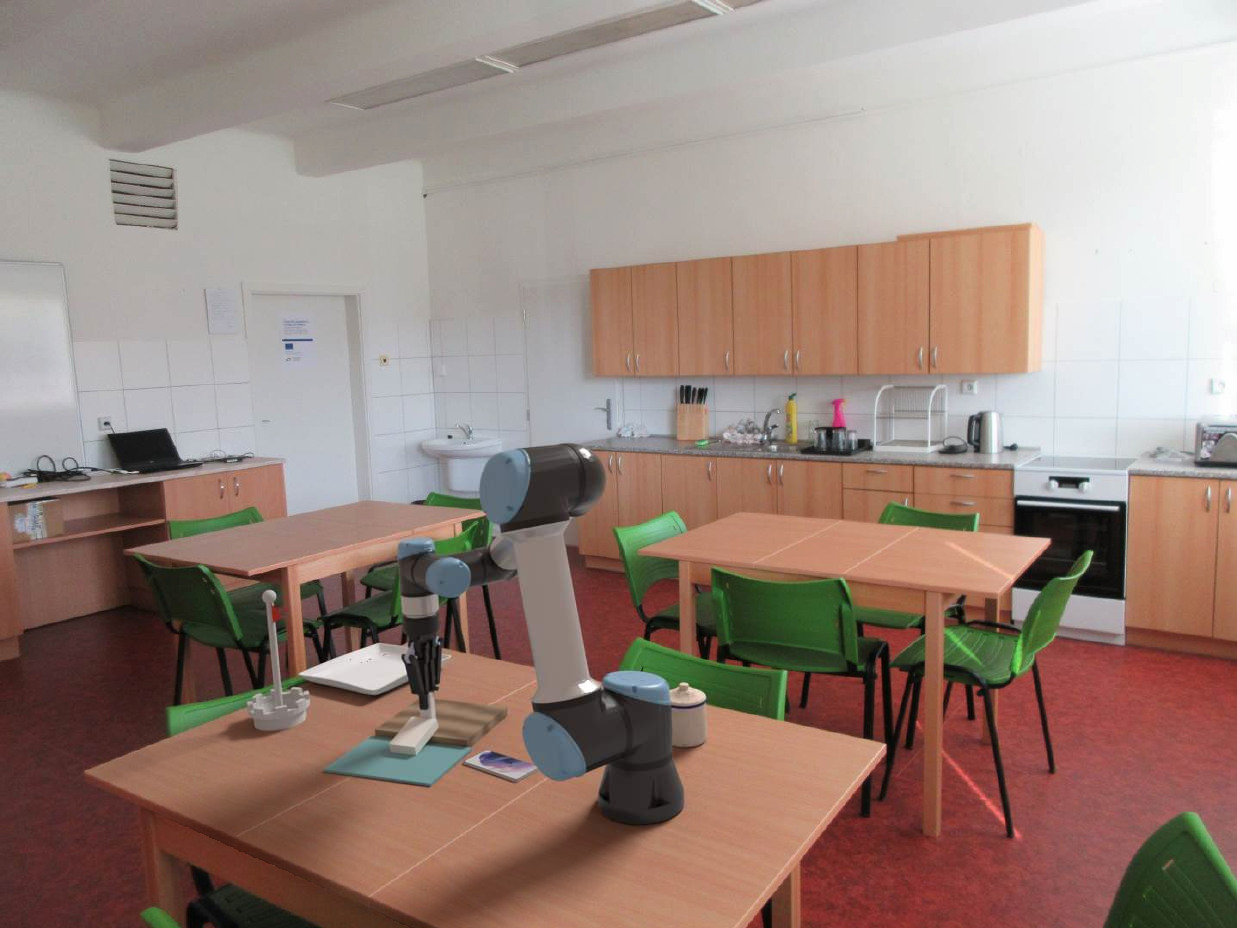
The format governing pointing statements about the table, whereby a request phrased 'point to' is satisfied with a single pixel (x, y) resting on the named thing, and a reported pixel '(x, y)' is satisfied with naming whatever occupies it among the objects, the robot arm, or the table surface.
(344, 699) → the table surface
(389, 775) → the teal mat
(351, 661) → the square plate
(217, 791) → the table surface
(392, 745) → the ceramic tile
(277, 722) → the flag stand
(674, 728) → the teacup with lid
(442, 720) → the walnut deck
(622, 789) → the robot arm
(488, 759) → the smartphone
